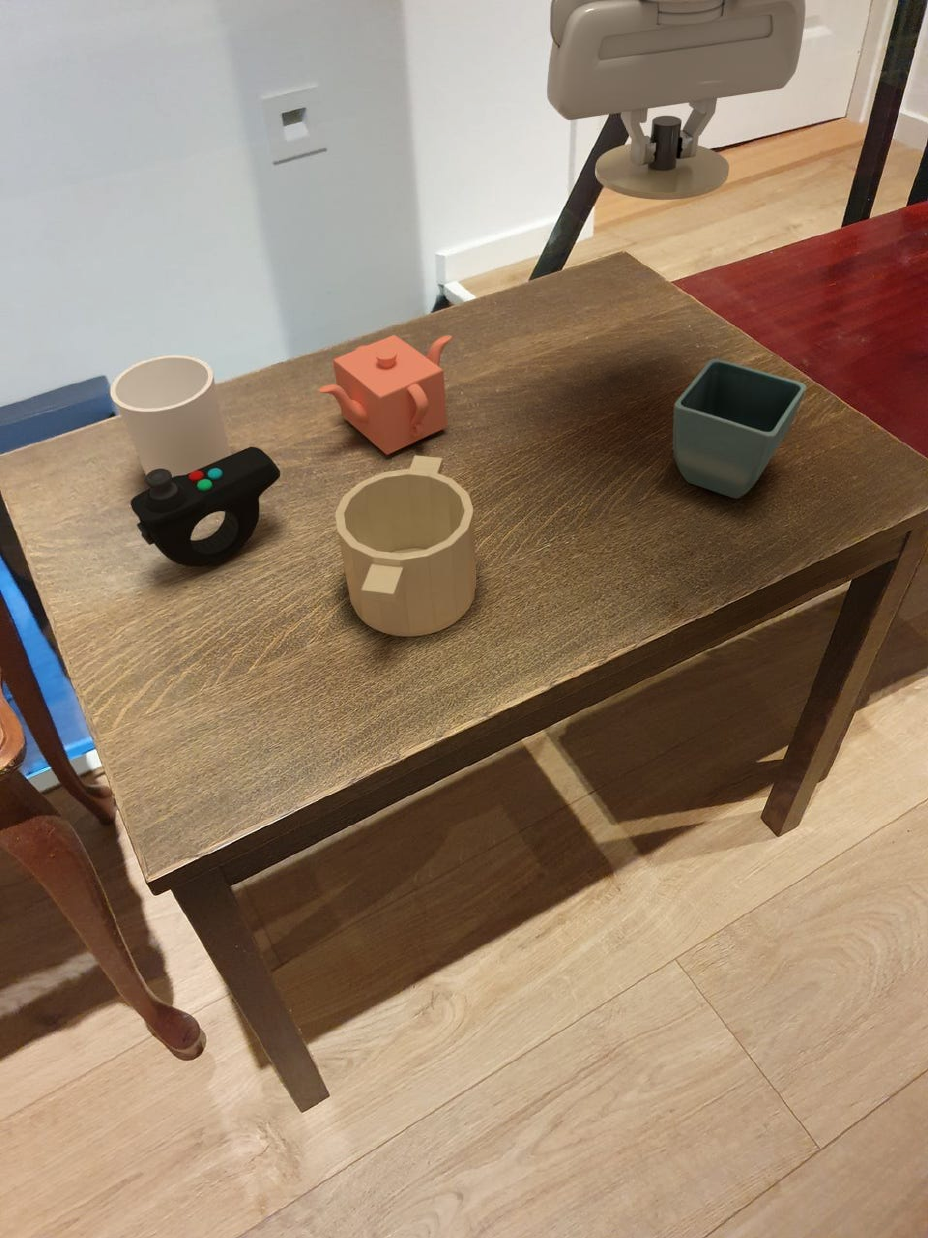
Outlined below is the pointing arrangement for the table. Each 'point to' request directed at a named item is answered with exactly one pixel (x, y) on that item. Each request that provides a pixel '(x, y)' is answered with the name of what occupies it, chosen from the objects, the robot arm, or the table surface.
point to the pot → (408, 549)
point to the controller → (205, 507)
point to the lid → (663, 168)
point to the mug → (172, 413)
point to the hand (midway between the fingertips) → (662, 159)
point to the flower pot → (732, 425)
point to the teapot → (391, 391)
